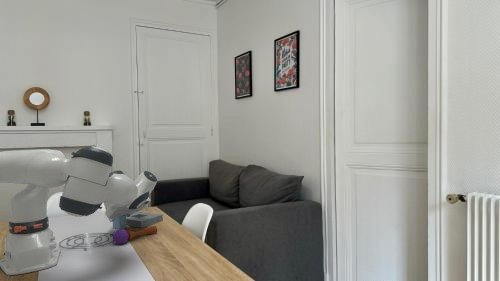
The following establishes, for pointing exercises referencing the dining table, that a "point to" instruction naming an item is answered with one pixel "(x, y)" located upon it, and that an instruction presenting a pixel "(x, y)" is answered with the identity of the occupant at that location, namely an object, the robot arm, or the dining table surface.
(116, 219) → the servo
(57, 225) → the dining table surface
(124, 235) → the purple maraca
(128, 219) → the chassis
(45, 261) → the robot arm
